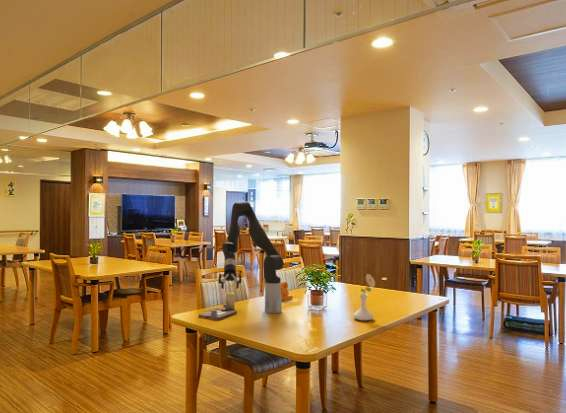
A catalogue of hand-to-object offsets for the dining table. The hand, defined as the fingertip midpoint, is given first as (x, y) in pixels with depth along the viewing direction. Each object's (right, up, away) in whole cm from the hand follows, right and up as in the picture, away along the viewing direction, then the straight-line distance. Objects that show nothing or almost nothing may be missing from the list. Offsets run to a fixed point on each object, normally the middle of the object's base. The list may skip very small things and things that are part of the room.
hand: (230, 288), depth 257 cm
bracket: (+33, -13, +26) cm, 44 cm away
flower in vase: (+78, -12, -26) cm, 83 cm away
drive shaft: (-1, -10, -15) cm, 18 cm away
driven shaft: (-5, -10, -27) cm, 29 cm away
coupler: (+1, -12, -7) cm, 14 cm away
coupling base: (-4, -11, -21) cm, 24 cm away
